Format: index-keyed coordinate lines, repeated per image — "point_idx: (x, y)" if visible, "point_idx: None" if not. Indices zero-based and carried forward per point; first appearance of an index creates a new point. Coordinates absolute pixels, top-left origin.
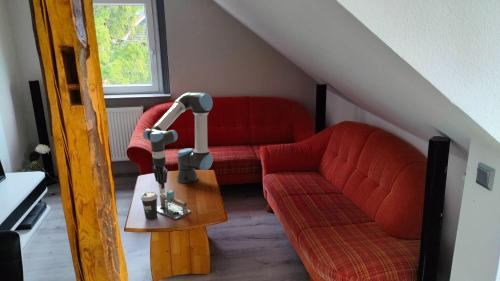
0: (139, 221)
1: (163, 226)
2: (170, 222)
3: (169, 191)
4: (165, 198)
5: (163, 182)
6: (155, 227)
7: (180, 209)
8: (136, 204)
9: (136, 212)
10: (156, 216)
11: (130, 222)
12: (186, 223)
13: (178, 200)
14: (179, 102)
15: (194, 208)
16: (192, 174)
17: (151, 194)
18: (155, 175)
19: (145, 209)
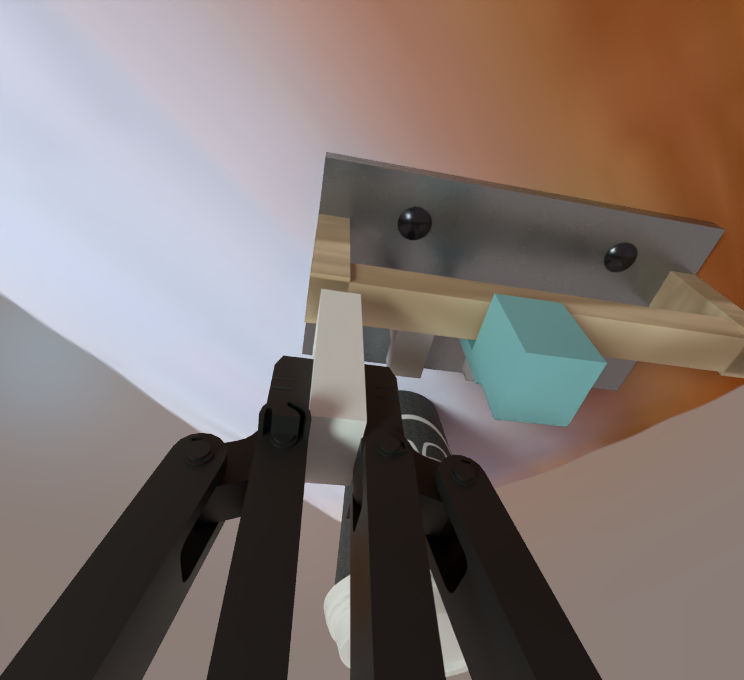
0: None
1: (553, 460)
2: (578, 414)
3: (533, 395)
4: (430, 337)
5: (460, 547)
6: (507, 482)
7: (592, 253)
8: (58, 324)
9: (218, 416)
10: (440, 422)
11: (310, 502)
12: (711, 382)
13: (649, 337)
14: None
15: (733, 124)
16: None
17: (446, 636)
18: (133, 676)
19: None
